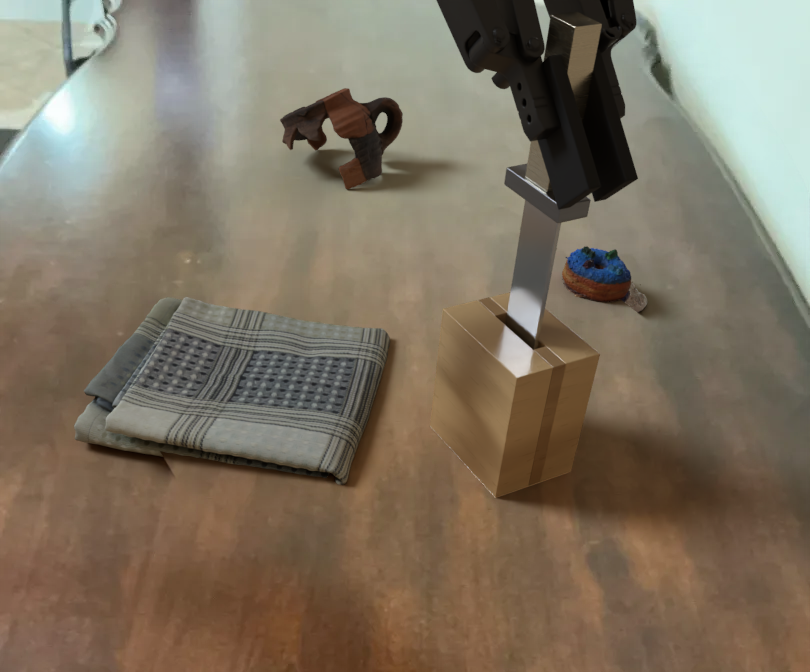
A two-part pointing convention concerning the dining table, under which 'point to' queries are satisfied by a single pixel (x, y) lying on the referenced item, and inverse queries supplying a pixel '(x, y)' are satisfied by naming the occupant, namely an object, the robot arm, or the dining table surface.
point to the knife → (547, 184)
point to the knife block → (510, 395)
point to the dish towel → (238, 389)
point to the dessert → (601, 278)
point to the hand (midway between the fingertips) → (597, 193)
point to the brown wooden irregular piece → (347, 131)
